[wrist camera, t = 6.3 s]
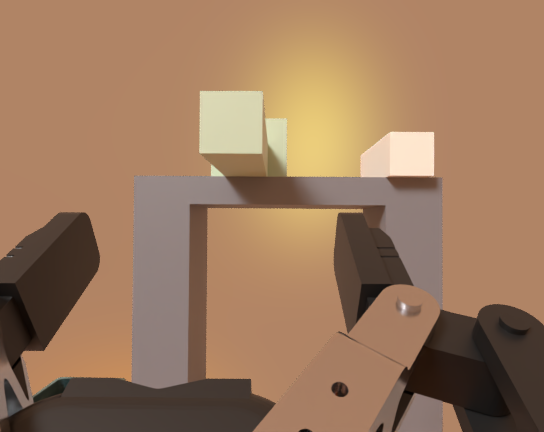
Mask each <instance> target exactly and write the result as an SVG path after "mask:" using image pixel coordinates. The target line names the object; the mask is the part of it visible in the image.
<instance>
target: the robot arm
mask: <svg viewBox="0 0 544 432" xmlns="http://www.w3.org/2000/svg"><path fill="white" fill-rule="evenodd" d="M99 263H100V255H99V250H98V247H97V243H96V239H95V236H94V232H93V228H92V225H91V221H90V218H89V216H88V215H87V214H86V213H74V212H71V213H68V212H63V213H62V212H61V213H58V214H57V215H56V216H55V217H54V218H53V219H52V220H51V221H50V222H48V224H46V225H45V226H44V227H43V228H41V229H39V230H37V231H35V232H34V233H32V234H30V235H28V236H26V237H25V238H24V239H23V240H22V241H21V242H20V243H19V244H18V245H17V246H16V248H15V249H12V250H11V251H10V252H9V253H8V254H7V257H4V258H3V259H2V260H0V432H398V430H399V428H400V426H401V424H402V422H403V420H404V418H405V416H406V414H407V412H408V410H409V408H410V406H411V404H412V402H413V400H414V398H415V396H416V394H420V395H423V396H426V397H430V398H433V399H436V400H440V401H443V402H447V403H450V404H453V407H454V410H455V412H456V415H457V418H458V420H459V423H460V426H461V429H462V431H463V432H544V325H543V324H542V323H541V322H540V321H538V320H537V319H536V318H535V317H533V316H532V315H530V314H528V313H527V312H525V311H522V310H520V309H517V308H515V307H511V306H507V305H500V304H493V305H488V306H485V307H483V308H482V309H481V310H480V311H479V313H478V316H477V318H472V317H468V316H464V315H460V314H455V313H451V312H447V311H444V310H441V309H440V306H439V304H438V302H437V301H436V299H435V298H434V297H433V296H432V295H430V294H429V293H428V292H426V291H424V290H422V289H420V288H417V287H414V285H413V283H412V281H411V279H410V277H409V275H408V273H407V270H406V268H405V266H404V264H403V262H402V260H401V258H399V254H398V252H397V250H396V249H395V246H394V244H393V242H392V240H391V238H390V236H388V235H387V234H386V233H385V232H383V231H382V230H381V229H380V228H369V227H368V225H367V222H366V220H365V217H364V215H363V213H339V214H338V217H337V227H336V238H335V248H334V271H335V276H336V281H337V285H338V290H339V295H340V299H341V304H342V309H343V313H344V317H345V323H346V327H347V332H348V335H346V334H344V333H342V332H337V333H335V334H334V335H333V336H332V337H331V338H330V339H329V341H328V342H327V343H326V344H325V346H324V347H323V348H322V349H321V350H320V351H319V353H318V354H317V355H316V356H315V357H314V359H313V360H312V361H311V362H310V364H309V365H308V366H307V367H306V368H305V369H304V371H303V372H302V373H301V374H300V375H299V377H298V378H297V379H296V380H295V381H294V383H293V384H292V385H291V386H290V387H289V389H288V390H287V391H286V392H285V393H284V395H283V396H282V397H281V398H280V399H279V401H278V402H277V403H274V402H272V401H270V400H268V399H266V398H263V397H261V396H258V395H254V394H252V392H251V379H203V380H198V381H194V382H189V383H184V384H180V385H175V386H170V387H166V388H160V389H155V388H151V387H147V386H143V385H140V384H136V383H132V382H128V381H125V380H121V379H117V378H71V379H70V381H69V383H68V384H67V386H66V388H65V390H64V392H63V393H62V394H58V395H54V396H51V397H48V398H45V399H43V400H40V401H38V402H35V403H34V401H33V397H32V392H31V387H30V382H29V377H28V373H27V368H26V364H25V361H24V359H23V357H22V355H21V354H22V352H23V351H44V350H45V348H46V347H47V345H48V344H49V342H50V341H51V339H52V338H53V336H54V335H55V333H56V332H57V330H58V329H59V327H60V326H61V325H62V323H63V322H64V320H65V319H66V317H67V316H68V314H69V312H70V311H71V310H72V308H73V307H74V305H75V304H76V302H77V301H78V299H79V298H80V296H81V295H82V293H83V292H84V290H85V289H86V287H87V286H88V284H89V283H90V281H91V280H92V278H93V277H94V275H95V274H96V272H97V270H98V267H99Z"/></svg>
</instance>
